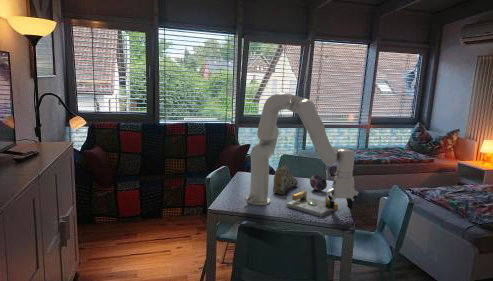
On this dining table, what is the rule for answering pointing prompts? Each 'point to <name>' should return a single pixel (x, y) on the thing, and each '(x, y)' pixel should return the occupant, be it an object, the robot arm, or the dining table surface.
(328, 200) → the knob
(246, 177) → the dining table surface
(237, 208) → the dining table surface
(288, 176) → the rock
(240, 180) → the dining table surface
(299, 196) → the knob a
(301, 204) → the levelling base
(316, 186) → the mineral specimen
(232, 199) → the dining table surface
